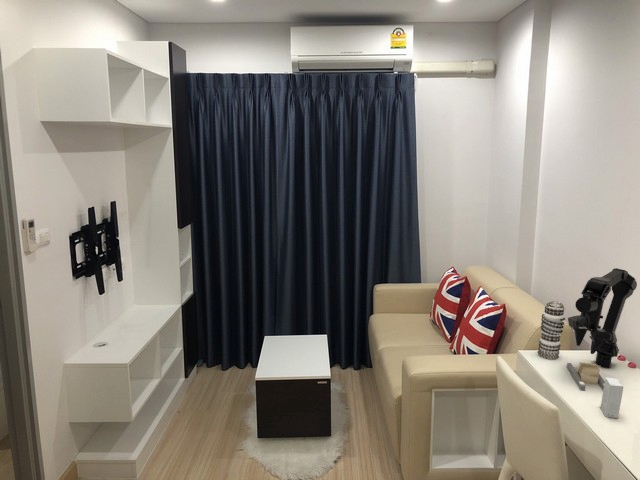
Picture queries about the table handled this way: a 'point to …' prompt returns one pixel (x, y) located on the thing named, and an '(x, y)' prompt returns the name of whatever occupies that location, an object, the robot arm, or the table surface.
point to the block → (588, 372)
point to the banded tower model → (551, 330)
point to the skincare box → (611, 397)
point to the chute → (578, 379)
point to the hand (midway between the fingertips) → (584, 349)
